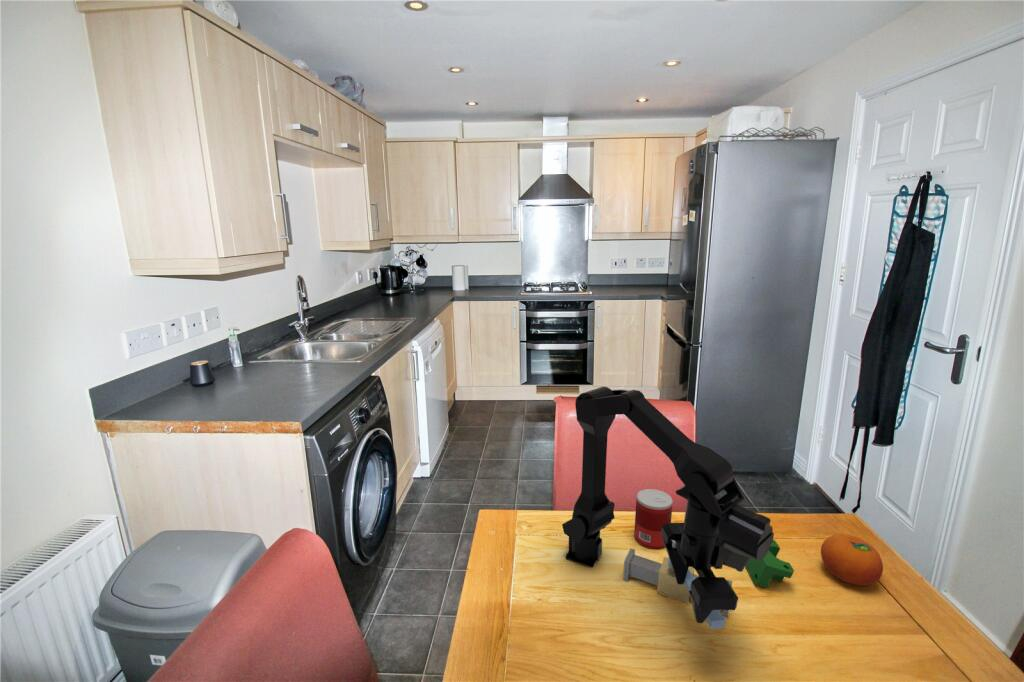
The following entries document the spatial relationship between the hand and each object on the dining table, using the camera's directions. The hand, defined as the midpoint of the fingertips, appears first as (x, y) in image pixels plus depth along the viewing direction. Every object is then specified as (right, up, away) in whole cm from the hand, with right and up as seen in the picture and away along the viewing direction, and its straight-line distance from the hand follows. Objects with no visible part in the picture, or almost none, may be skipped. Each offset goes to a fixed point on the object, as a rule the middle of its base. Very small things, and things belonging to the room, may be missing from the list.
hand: (689, 602), depth 84 cm
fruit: (+39, -3, +15) cm, 42 cm away
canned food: (+1, 0, +26) cm, 26 cm away
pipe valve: (+1, -4, +11) cm, 11 cm away
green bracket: (+22, -3, +16) cm, 27 cm away
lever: (+2, 0, +3) cm, 4 cm away
